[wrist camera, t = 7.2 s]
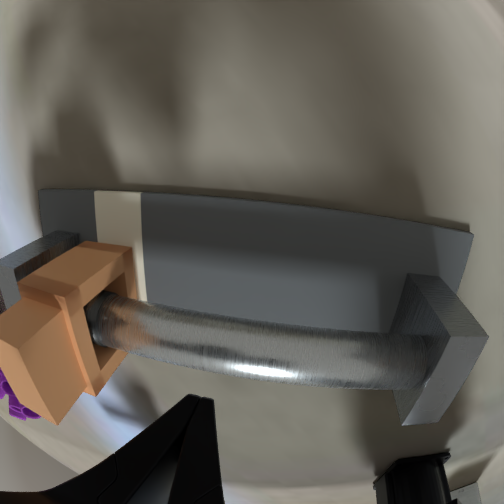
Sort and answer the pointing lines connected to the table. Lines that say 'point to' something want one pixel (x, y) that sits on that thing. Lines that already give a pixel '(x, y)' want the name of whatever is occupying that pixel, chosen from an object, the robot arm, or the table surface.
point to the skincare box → (467, 494)
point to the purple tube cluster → (14, 401)
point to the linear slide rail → (289, 339)
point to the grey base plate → (262, 254)
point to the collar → (62, 328)
